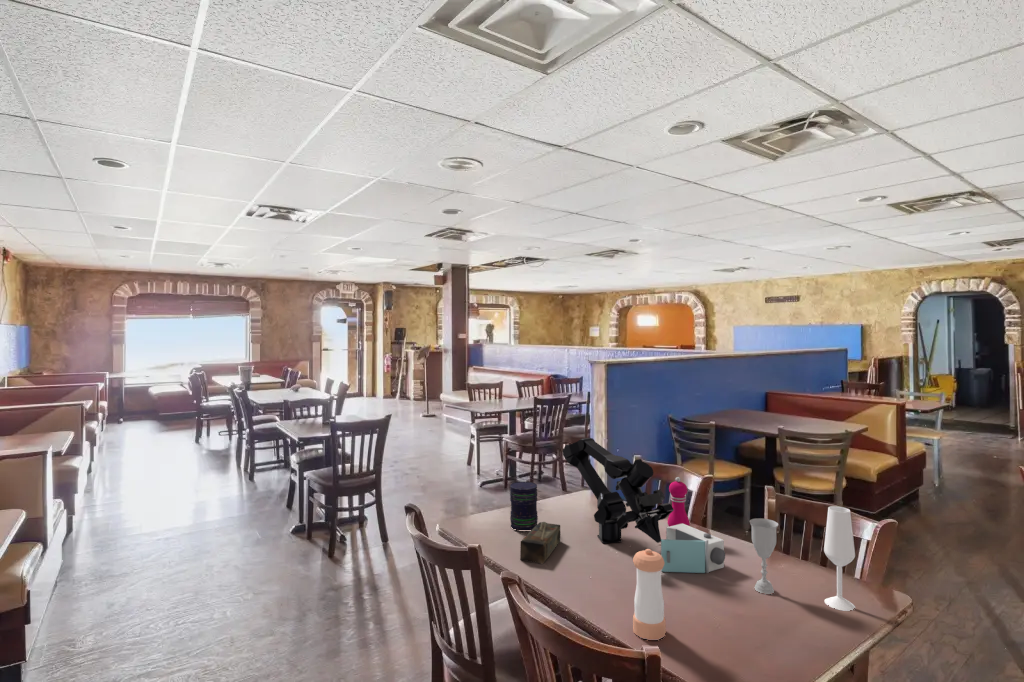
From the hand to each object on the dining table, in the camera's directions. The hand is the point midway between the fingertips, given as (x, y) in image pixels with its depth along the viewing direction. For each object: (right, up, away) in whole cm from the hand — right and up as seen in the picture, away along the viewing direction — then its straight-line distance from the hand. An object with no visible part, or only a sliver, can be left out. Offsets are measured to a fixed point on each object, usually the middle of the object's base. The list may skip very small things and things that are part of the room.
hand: (659, 542), depth 159 cm
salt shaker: (-12, -8, -35) cm, 38 cm away
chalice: (+24, -7, -16) cm, 29 cm away
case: (+12, -7, +4) cm, 14 cm away
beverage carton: (-34, -8, +13) cm, 37 cm away
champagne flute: (+39, -7, -23) cm, 46 cm away
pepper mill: (+13, -7, +23) cm, 28 cm away
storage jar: (-39, -7, +34) cm, 52 cm away
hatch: (+6, -7, -5) cm, 10 cm away
